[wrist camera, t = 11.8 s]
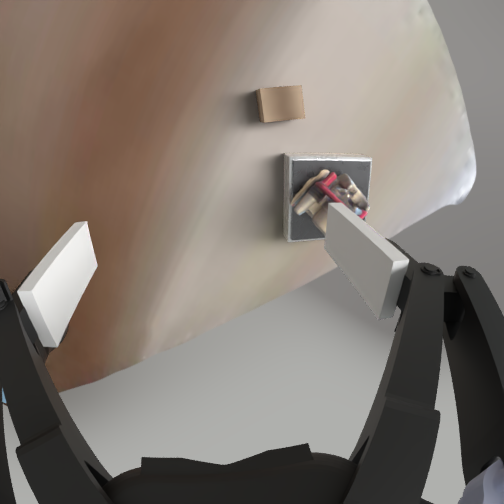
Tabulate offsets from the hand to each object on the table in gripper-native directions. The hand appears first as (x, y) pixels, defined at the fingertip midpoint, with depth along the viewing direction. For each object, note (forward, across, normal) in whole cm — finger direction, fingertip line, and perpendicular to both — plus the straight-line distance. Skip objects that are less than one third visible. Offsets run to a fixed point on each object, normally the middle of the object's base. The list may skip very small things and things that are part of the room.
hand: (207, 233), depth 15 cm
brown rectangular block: (+32, +11, +7) cm, 35 cm away
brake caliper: (+28, +19, -8) cm, 35 cm away
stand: (+32, +19, -8) cm, 38 cm away
